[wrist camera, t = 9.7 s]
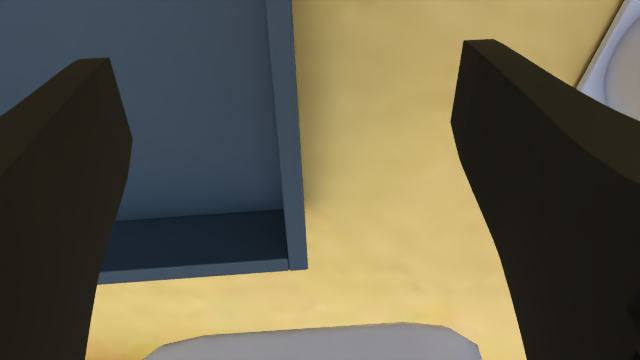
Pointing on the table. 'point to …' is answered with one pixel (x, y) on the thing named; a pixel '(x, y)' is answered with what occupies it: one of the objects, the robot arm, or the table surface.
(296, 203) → the tub
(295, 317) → the table surface
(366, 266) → the table surface
